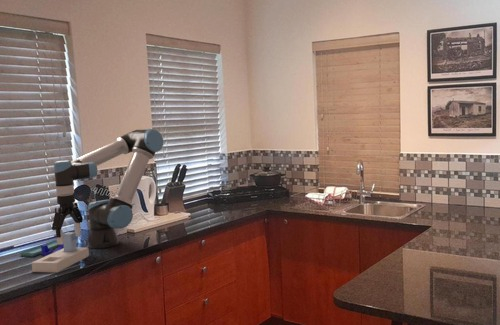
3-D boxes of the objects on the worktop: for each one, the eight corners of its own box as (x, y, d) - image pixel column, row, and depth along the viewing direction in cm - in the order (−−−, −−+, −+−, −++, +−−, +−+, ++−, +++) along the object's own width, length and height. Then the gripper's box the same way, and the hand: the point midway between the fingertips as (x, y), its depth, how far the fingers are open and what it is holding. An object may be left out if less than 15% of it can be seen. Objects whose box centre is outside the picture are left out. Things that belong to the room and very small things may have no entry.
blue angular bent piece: (47, 258, 232) (46, 246, 231) (42, 257, 235) (41, 245, 234) (69, 252, 241) (68, 240, 241) (64, 251, 244) (63, 239, 244)
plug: (70, 257, 227) (67, 232, 226) (79, 257, 226) (76, 232, 225) (64, 259, 223) (62, 234, 222) (74, 260, 222) (71, 234, 221)
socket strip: (66, 257, 231) (65, 247, 231) (89, 258, 228) (88, 247, 228) (32, 273, 208) (31, 262, 207) (57, 274, 205) (56, 263, 204)
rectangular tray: (55, 243, 262) (55, 238, 262) (70, 243, 260) (69, 239, 259) (19, 257, 238) (18, 252, 238) (34, 258, 235) (33, 253, 235)
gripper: (74, 190, 235) (78, 233, 237) (40, 199, 211) (45, 247, 213) (88, 190, 233) (91, 233, 235) (55, 199, 209) (60, 247, 211)
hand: (69, 240), depth 224 cm, fingers open, 13 cm apart
